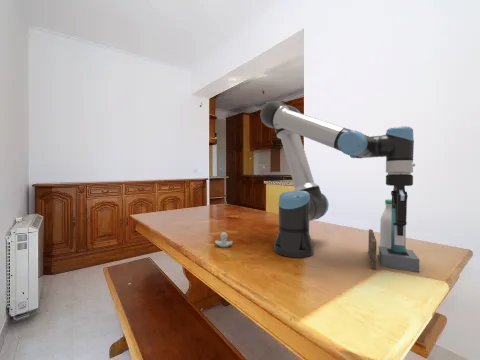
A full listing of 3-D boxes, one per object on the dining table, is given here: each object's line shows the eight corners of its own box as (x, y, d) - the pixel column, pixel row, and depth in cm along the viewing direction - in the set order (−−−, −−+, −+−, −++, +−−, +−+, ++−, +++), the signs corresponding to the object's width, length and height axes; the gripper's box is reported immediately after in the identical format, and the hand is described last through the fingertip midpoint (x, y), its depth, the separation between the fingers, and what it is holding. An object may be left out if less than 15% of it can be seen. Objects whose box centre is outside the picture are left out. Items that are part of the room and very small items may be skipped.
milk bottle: (406, 251, 91) (407, 201, 90) (384, 250, 92) (385, 200, 92) (396, 245, 98) (397, 199, 98) (377, 244, 100) (377, 198, 99)
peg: (392, 251, 77) (392, 209, 77) (390, 248, 81) (390, 208, 81) (406, 253, 76) (407, 210, 75) (404, 249, 79) (404, 208, 79)
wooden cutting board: (371, 269, 74) (372, 241, 74) (368, 252, 90) (368, 229, 90) (375, 269, 73) (376, 241, 73) (371, 252, 90) (372, 229, 89)
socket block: (381, 266, 76) (381, 254, 76) (378, 256, 85) (378, 246, 85) (419, 272, 72) (419, 259, 72) (411, 261, 81) (412, 250, 81)
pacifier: (216, 244, 101) (214, 248, 95) (216, 229, 101) (214, 232, 95) (233, 244, 100) (232, 248, 94) (233, 230, 100) (232, 233, 94)
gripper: (419, 173, 68) (418, 252, 69) (407, 173, 84) (406, 238, 84) (389, 173, 72) (388, 248, 72) (383, 174, 87) (382, 235, 87)
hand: (398, 242), depth 78 cm, fingers closed on peg, 4 cm apart
